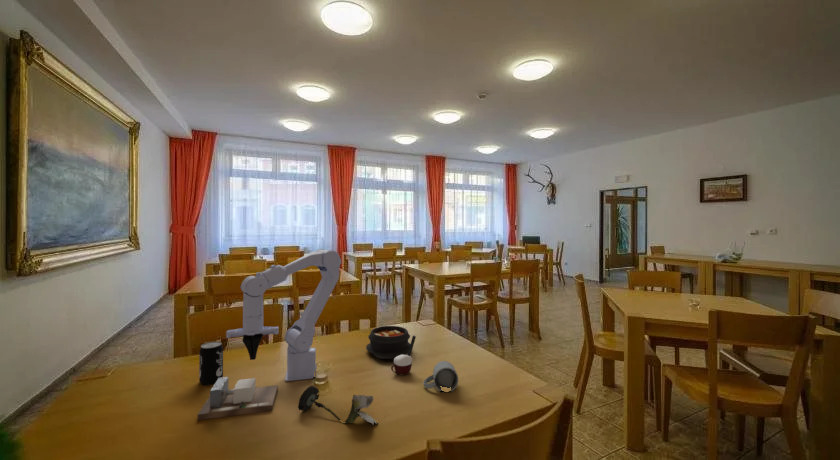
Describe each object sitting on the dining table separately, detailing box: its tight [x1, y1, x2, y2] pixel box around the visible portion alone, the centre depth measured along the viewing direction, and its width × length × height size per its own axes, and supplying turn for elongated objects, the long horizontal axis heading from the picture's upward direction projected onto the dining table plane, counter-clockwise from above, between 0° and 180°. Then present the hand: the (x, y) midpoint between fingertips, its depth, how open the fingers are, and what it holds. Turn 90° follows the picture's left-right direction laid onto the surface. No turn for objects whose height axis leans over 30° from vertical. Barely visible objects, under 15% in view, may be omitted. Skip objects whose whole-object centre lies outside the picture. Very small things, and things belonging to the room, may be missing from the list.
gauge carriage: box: [226, 377, 256, 408], centre depth 95 cm, size 7×9×4 cm
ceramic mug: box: [422, 360, 459, 392], centre depth 108 cm, size 11×8×8 cm
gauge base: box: [197, 384, 279, 421], centre depth 96 cm, size 18×12×2 cm, turn 106°
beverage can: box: [198, 341, 224, 386], centre depth 110 cm, size 7×7×12 cm
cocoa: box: [390, 335, 417, 376], centre depth 118 cm, size 10×6×12 cm, turn 103°
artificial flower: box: [297, 385, 377, 426], centre depth 90 cm, size 9×22×10 cm, turn 64°
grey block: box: [209, 376, 229, 409], centre depth 95 cm, size 2×8×5 cm, turn 16°
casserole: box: [365, 325, 411, 360], centre depth 138 cm, size 25×19×8 cm
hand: (253, 358), depth 105 cm, fingers closed
